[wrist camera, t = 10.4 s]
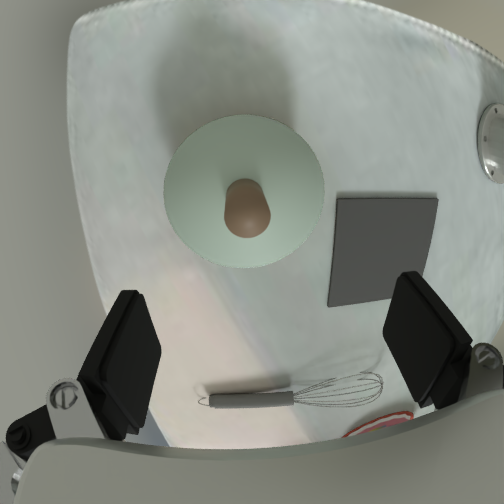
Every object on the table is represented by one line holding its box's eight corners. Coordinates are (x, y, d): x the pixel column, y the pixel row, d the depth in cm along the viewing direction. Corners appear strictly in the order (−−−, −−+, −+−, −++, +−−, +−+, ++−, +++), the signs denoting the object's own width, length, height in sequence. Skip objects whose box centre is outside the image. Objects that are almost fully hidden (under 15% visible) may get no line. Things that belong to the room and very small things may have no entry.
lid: (321, 113, 21) (347, 114, 16) (318, 258, 28) (336, 291, 23) (156, 124, 21) (134, 127, 16) (178, 268, 27) (167, 304, 22)
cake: (421, 399, 56) (435, 429, 47) (404, 433, 68) (413, 457, 58) (334, 431, 58) (343, 465, 48) (334, 457, 69) (340, 484, 60)
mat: (436, 198, 31) (438, 199, 30) (416, 292, 38) (417, 293, 37) (336, 198, 30) (338, 199, 30) (327, 305, 37) (328, 307, 37)
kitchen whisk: (194, 386, 44) (192, 416, 39) (380, 359, 45) (392, 385, 40) (202, 404, 47) (201, 431, 42) (373, 379, 48) (383, 403, 42)
